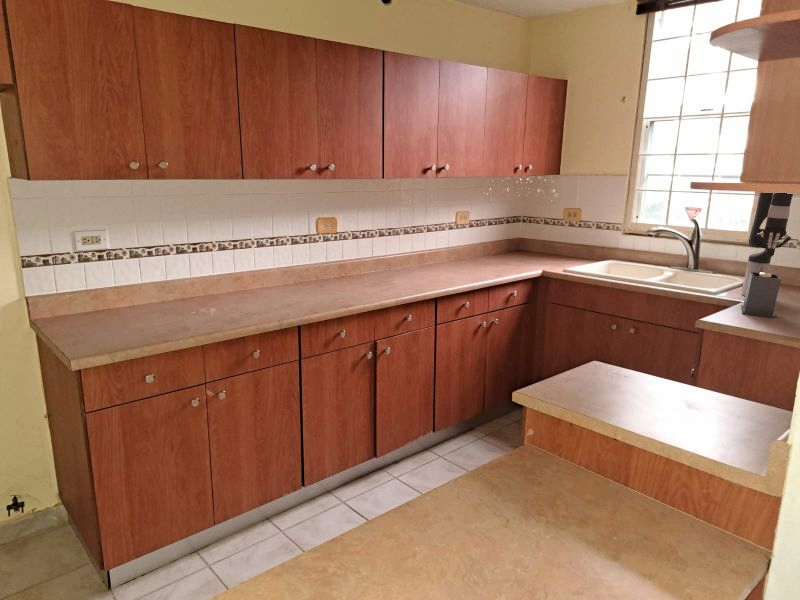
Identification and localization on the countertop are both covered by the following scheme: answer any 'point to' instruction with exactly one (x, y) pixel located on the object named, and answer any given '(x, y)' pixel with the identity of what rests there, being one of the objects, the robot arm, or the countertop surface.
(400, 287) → the countertop surface
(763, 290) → the dark grey upright box
